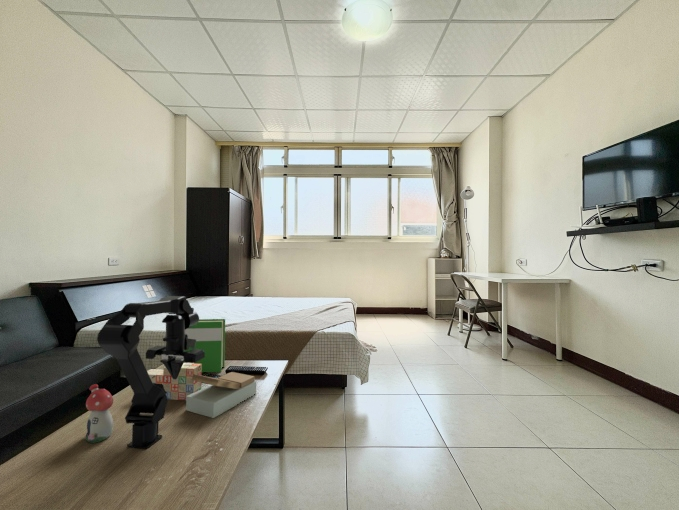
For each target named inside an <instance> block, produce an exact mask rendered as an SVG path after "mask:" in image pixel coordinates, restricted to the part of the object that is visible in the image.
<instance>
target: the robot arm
mask: <svg viewBox="0 0 679 510" xmlns="http://www.w3.org/2000/svg"><path fill="white" fill-rule="evenodd" d="M159 314H166V316H165V317H164V318H162V321H161V323H163V324H165V337H163V338H162V342H165V345H156V346H153V347H151V348H149V349H147V350H146V351H145V359H146V360H147V359H149V360H154V359H155V358H156V356H160V357H161V360H159V363H162V365H164V367H166V368H167V370H168V371H169V373H170V375H171V376H172V378H173V379H175V380H176V379H177V378H178V375H179V373H180V370H181V367H182V365H183V363H184V362H187V363H196V362H197V361H199V360H201V359H203V358H204V357H205V352H204V351H203V350H202V349H192V350H190V351H188V352H186V351H185V350H188V349H189V347H190V348H195V343H196V339H188V336H187V334H185V329H188V328H190V327H192V326H194V325H196V324H197V323H198V321H199V319H200V316H199V314H198V313H197V312H196V311H195V309H194V307H192V306H191V304H190V301H188V299H187V297H186V296H180V295H179V296H178V295H177V296H176V295H175V296H174V295H167V296H164V297H161V298H160V299H159V300H155V301H153V300H152V301H144V302H130V303H127V304H125V305H124V306H123V308H122V309H121V310H120V311H119V312H117V313H116V314H114V315H113V316H111V317H110V318H109V319H108V320H107V321H106V322H105V323H104V325H103V326H102V327H101V329H100V330H99V332H98V333H97V338H96V340H97V343H98V345H99V347H100V348H101V349H102V350H103V351H104V352H105V353H107V354H108V355H110V356H112V358H113V357H114V358H115V359H116V361H117V363H118V364H119V367H120V368H121V370H122V373H123V375H124V377H125V378H126V380H127V382H128V384H129V386H130V389H131V390H132V392H133V396H132V399H131V406H130V407H129V409H128V411H127V414H126V415H125V418H124V419H125V424H132V429H131V430H132V431H131V432H132V433H131V435H132V436H131V441H130V442H128V443H127V444H126V445H127V446H126V447H127V448H136V449H145V450H146V449H148V448H150V447H151V446H153V445H154V444H155V443H156V442H157V441H159V440H161V439H162V438H163V435H162V434H159V422H160V421H161V420H163V419H164V418H165V414H166V409H167V405H168V399H167V396H166V393H167V392H166V391H165V390H164V386H163V385H162V384H158V383H152V381H151V379H150V377H149V374H148V372H147V371H148V370H147V368H146V366H145V363H144V362H143V360H142V357H141V355H140V353H139V351H138V346H139V343H140V341H141V339H140V335H141V334H142V332H143V330H144V328H145V325H144V323H145V318H146V317H147V316H148V317H149V316H154V315H159ZM130 318H135V321H134V323H133V324H124V323H126V322H127V321H128V320H129V319H130Z"/></svg>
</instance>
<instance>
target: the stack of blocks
mask: <svg viewBox="0 0 679 510" xmlns="http://www.w3.org/2000/svg"><path fill="white" fill-rule="evenodd" d="M147 372H148V374H149V377H150V379H151V381H152V383H158V384H162V385H163V386H164V390H165V391H166V392H167V393H166V396H167V400H179V401H186V396H188V395H190V394H192V393H195V392H197V391H199V390H201V389H202V382H198V381H193V380H192V377H193V375H194V374H195V375H200V376H203V375H202V374H203V373H202V364H196V363H195V364H194V363H183V365H182V367H181V370H180V373H179V375H178V378H177V379H176V380H175V379H173V378H172V376H171V375H170V373H169V371H168V370H167V368H166V367H165V366H164V367H163V368H162V369H160V368H159V369H158V368H156V369H155V368H153V369H152V368H151V369H148V370H147Z"/></svg>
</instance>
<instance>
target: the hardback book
mask: <svg viewBox="0 0 679 510" xmlns="http://www.w3.org/2000/svg"><path fill="white" fill-rule="evenodd" d="M185 334H187V336H188V339H196V343H195V348H190V347H189V349H188V350H185V351H186V352H188V351H190V350H192V349H202V350H203V351H204V352H205V357H204V358H203V359H201V360H199V361H197V362H196V364H202V372H216V373H222V369H223V368H222V367H224V368H225V366H226V365H225V361H226V360H225V359H226V357H225V356H226V318H202V319H201V318H199V321H198V323H197V324H196V325H194V326H192V327H190V328H188V329H185ZM184 363H187V362H184ZM194 364H195V363H194Z"/></svg>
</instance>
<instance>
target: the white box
mask: <svg viewBox="0 0 679 510" xmlns="http://www.w3.org/2000/svg"><path fill="white" fill-rule="evenodd" d="M255 377H256V376H254V375H249V374H245V373H239V372H235V371H231V372H228V373H226V374H223V375H221V376H219V377H217V379H221V380H225V381H230V382H235V383H239V384H240V386H239V389H233V388H227V387H221V386H215V385H211V384H209V385H208V386H206V387H203V388H201V390H199V391H197V392H195V393H192V394H190V395H188V396H186V400H185V402H186V403H185V406H186V407H185V408H186V409H185V411H188V412H191V413H194V414H199V415H201V416H205V417H208V418H212V419H214V418H216V417H218V416H220V415H221V414H224V413H225V412H227V411H228V410H230V409H232V408H233V407H236V406H238V405H240V404H241V403H243V402H244V400H245V401H247V400H248V399H250V398H251V396H252V397H253V396H255V395H257V381H256V380H255ZM254 394H255V395H254ZM249 397H250V398H249ZM247 398H248V399H247ZM242 401H243V402H242ZM240 402H241V403H240ZM237 404H238V405H237Z"/></svg>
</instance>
